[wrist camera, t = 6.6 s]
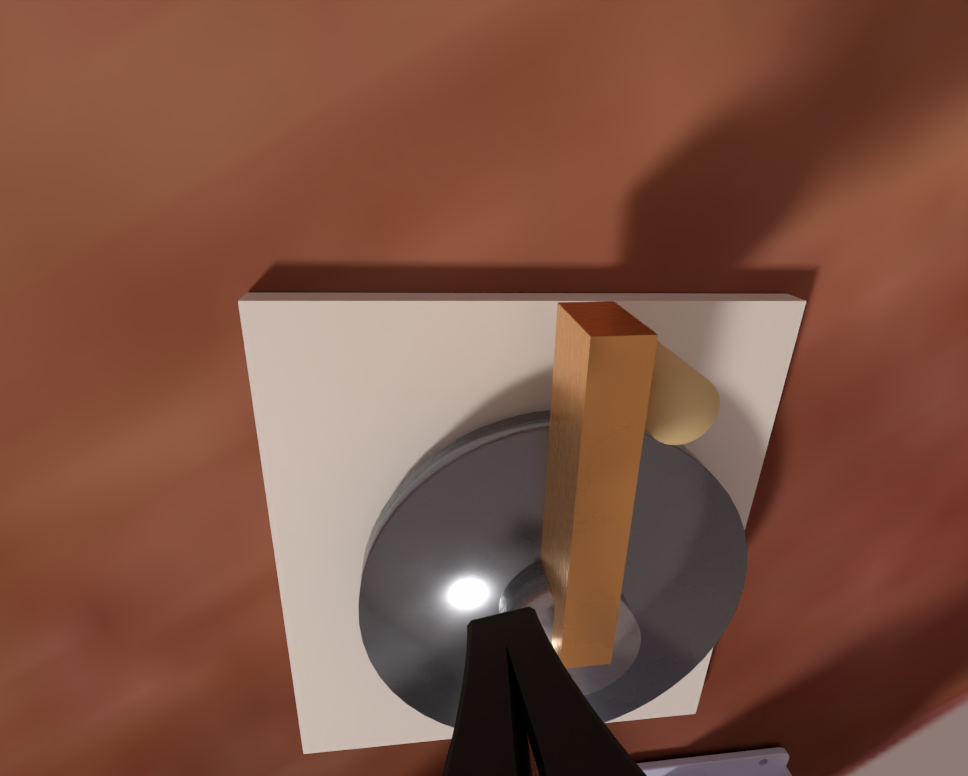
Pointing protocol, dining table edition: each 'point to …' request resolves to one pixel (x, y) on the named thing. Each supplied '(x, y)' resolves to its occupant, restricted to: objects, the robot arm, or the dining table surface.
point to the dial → (559, 537)
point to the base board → (446, 417)
